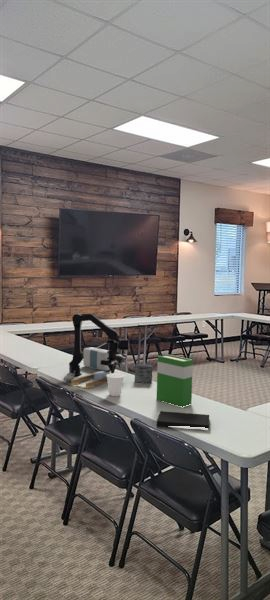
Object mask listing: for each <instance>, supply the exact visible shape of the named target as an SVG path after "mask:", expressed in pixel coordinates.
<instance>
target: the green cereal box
mask: <svg viewBox="0 0 270 600" xmlns="http://www.w3.org/2000/svg"><path fill="white" fill-rule="evenodd" d="M193 365H194V359H191V358H187V357H181V356H178V355H173V354H168V353H166V354H165V355H163V356H162V355H158V356H157V365H156V366H157V371H156V372H157V373H156V376H157V377H156V401H158V400H160V401H159V402H161V401H164V402H167V403H166V404H168V403H171V404H174V405H178V406H182V407H183V406H186V405H189V404H191V405H192V396H193V395H192V392H193V370H194V369H193V367H194V366H193ZM164 402H163V403H164ZM171 404H170V405H171ZM174 405H173V406H174Z"/></svg>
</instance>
